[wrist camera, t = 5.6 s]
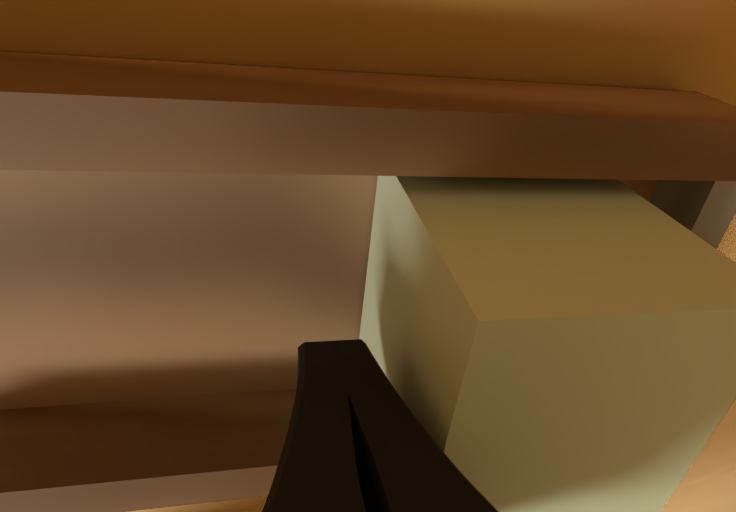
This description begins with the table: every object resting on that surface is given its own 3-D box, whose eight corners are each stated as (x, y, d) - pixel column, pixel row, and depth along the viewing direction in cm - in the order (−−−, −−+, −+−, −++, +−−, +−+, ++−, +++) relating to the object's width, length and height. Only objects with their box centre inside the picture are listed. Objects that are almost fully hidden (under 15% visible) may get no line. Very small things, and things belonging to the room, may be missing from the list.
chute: (587, 384, 18) (638, 454, 16) (-29, 432, 14) (-85, 535, 12) (718, 89, 13) (825, 127, 10) (-208, 34, 9) (-376, 75, 7)
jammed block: (512, 367, 16) (626, 563, 11) (354, 377, 15) (404, 598, 10) (581, 154, 13) (796, 306, 8) (380, 149, 12) (477, 320, 7)
